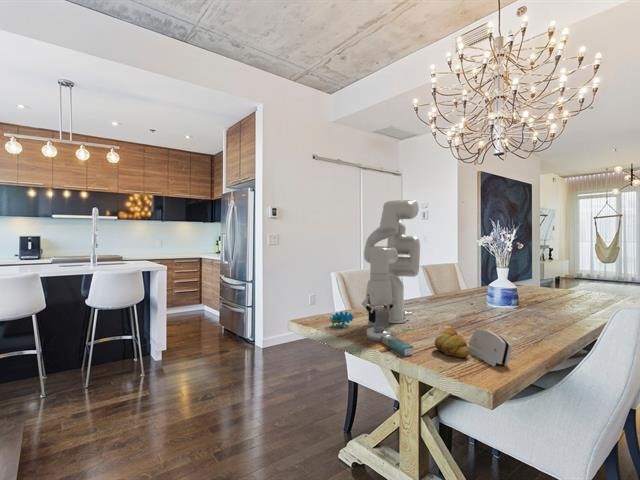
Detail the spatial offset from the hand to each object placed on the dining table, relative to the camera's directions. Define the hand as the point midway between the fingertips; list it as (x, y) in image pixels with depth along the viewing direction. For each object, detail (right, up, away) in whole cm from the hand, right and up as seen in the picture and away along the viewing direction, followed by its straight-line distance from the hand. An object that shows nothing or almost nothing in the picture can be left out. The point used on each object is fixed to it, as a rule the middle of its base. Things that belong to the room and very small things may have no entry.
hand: (378, 320), depth 138 cm
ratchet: (+3, -7, -7) cm, 11 cm away
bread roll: (+23, -8, -17) cm, 30 cm away
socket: (0, -2, 0) cm, 2 cm away
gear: (-14, -7, +18) cm, 24 cm away
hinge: (+34, -8, -21) cm, 41 cm away
